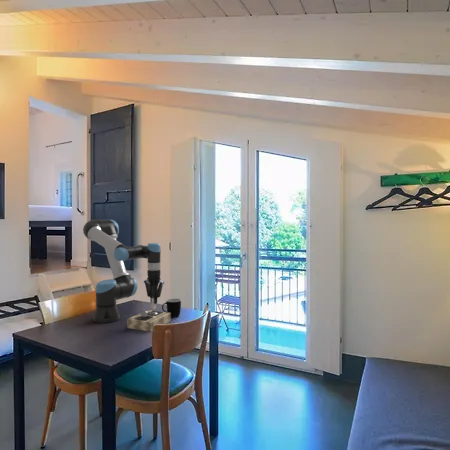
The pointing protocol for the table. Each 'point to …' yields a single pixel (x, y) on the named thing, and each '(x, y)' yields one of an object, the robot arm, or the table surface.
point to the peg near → (144, 314)
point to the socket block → (148, 320)
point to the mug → (173, 307)
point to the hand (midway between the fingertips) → (153, 308)
